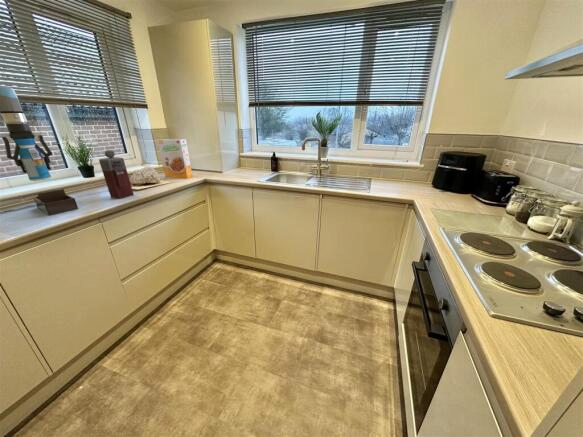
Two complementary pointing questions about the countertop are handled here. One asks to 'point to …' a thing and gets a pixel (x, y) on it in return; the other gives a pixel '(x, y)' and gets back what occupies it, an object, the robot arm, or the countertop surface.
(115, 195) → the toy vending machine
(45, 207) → the caddy
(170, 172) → the cereal box
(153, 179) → the bread loaf on board
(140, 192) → the countertop surface
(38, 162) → the beverage bottle
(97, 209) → the countertop surface
